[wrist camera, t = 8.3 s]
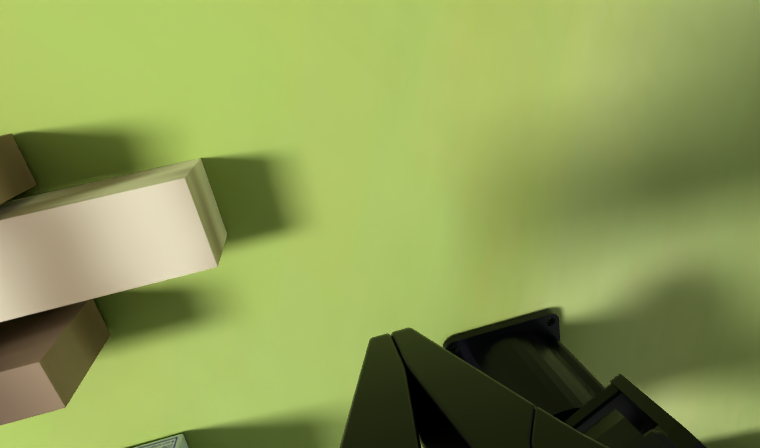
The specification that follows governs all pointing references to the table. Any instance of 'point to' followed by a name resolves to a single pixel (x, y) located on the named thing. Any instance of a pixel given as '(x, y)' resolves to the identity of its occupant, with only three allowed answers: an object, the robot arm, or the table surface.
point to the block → (107, 237)
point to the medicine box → (167, 443)
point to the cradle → (42, 331)
